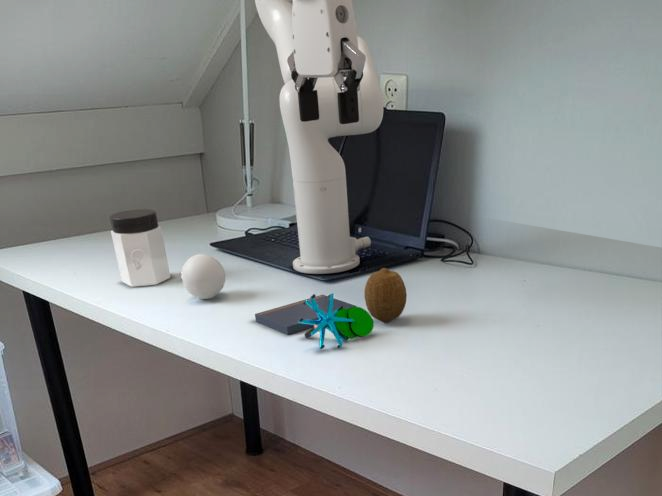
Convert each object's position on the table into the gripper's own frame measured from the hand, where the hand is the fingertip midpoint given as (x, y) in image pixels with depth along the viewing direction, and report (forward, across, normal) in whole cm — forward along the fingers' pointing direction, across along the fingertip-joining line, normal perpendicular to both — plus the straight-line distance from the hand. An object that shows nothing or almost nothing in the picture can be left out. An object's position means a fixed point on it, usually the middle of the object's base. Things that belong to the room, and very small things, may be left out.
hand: (329, 121), depth 110 cm
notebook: (+26, -4, +10) cm, 28 cm away
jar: (+26, +37, +18) cm, 49 cm away
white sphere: (+26, +19, +16) cm, 36 cm away
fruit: (+26, -15, +3) cm, 31 cm away
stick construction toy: (+26, -15, +13) cm, 33 cm away
